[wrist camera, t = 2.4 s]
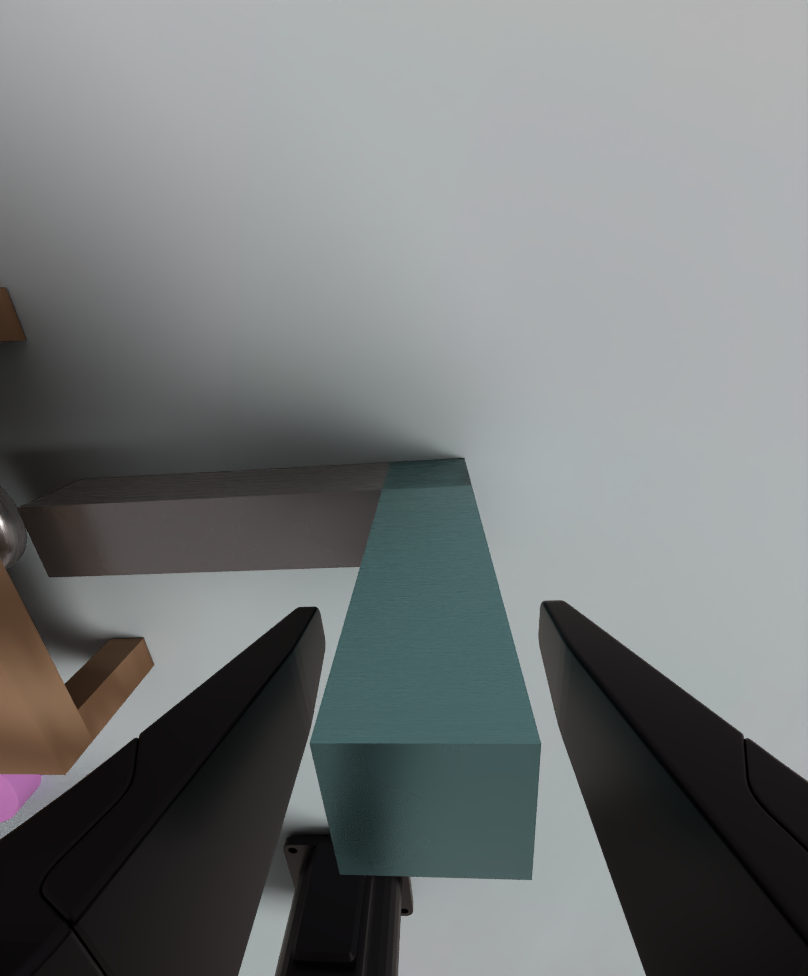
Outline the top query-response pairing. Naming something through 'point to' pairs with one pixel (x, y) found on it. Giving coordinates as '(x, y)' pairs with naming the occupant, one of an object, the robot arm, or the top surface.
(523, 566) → the top surface
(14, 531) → the disc
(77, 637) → the top surface
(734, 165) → the top surface
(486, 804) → the teal angled piece
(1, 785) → the bracket
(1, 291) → the stand
